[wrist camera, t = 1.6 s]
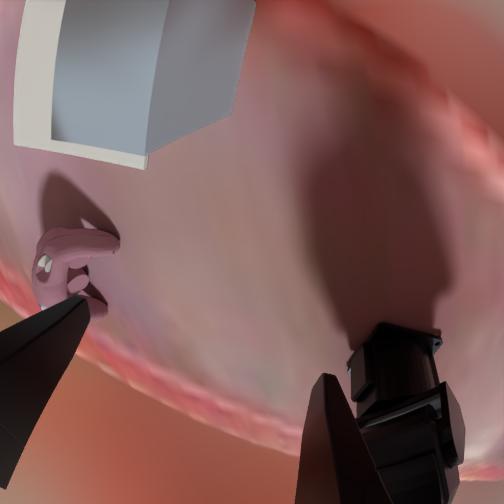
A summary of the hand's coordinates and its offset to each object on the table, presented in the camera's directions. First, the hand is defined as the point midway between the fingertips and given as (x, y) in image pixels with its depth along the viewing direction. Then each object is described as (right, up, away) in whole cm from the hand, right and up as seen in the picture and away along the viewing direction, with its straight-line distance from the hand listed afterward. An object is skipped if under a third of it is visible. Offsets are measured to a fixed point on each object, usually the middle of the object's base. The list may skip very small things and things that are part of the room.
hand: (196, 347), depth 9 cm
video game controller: (-13, +2, +17) cm, 21 cm away
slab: (-1, +14, +6) cm, 15 cm away
